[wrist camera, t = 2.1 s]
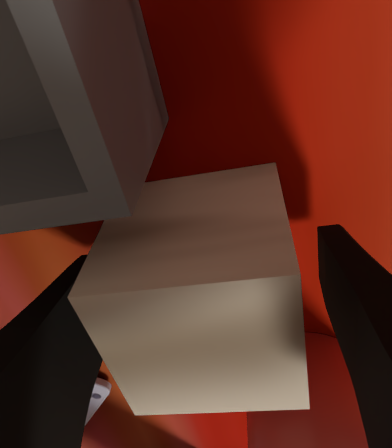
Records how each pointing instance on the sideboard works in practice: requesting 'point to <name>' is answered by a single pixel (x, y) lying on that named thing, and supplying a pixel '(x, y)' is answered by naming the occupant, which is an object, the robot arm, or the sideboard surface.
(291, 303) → the cube
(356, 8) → the sideboard surface
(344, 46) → the sideboard surface
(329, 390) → the capsule
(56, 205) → the tote
